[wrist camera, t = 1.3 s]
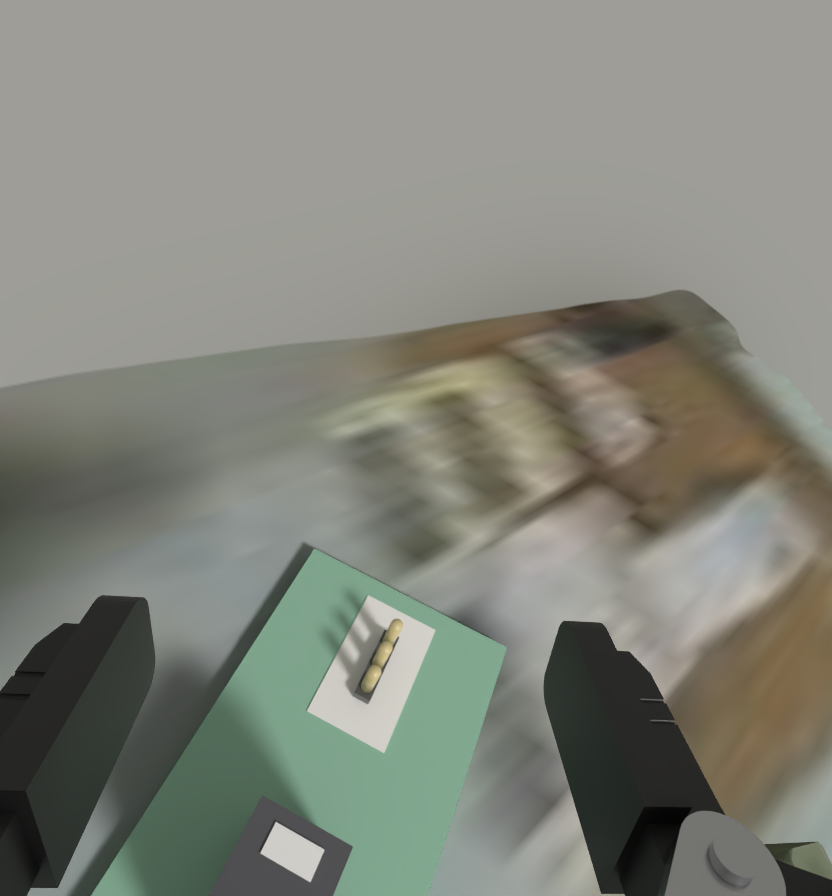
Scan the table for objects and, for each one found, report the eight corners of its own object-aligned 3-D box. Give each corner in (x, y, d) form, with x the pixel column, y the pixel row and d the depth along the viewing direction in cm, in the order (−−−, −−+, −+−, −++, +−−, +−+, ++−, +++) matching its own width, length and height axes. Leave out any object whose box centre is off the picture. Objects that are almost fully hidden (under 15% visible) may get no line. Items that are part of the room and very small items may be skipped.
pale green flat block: (340, 1147, 22) (355, 1206, 18) (52, 966, 24) (8, 985, 20) (500, 653, 36) (529, 626, 32) (313, 556, 37) (318, 519, 33)
